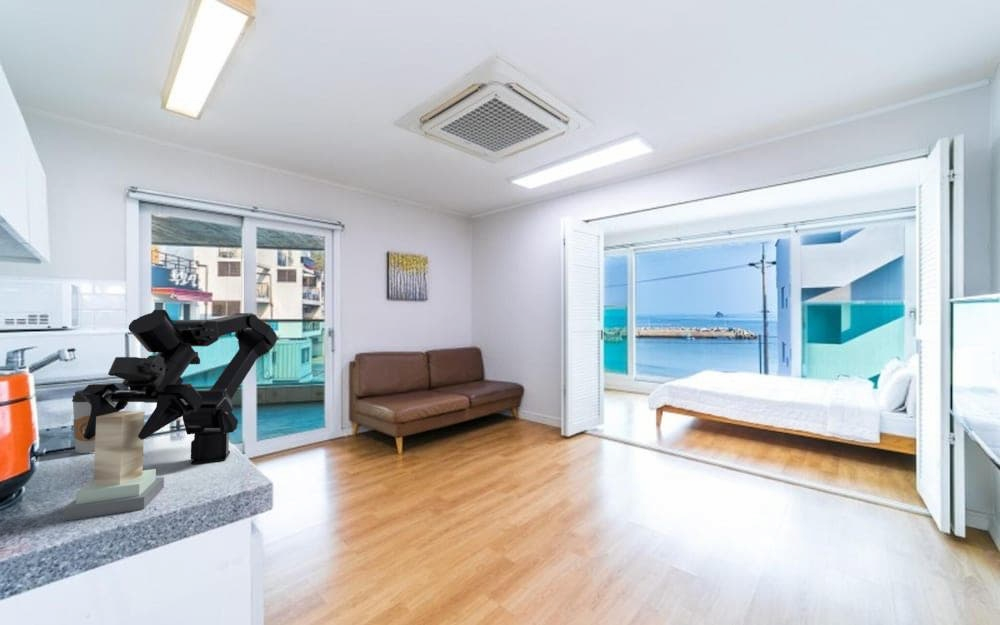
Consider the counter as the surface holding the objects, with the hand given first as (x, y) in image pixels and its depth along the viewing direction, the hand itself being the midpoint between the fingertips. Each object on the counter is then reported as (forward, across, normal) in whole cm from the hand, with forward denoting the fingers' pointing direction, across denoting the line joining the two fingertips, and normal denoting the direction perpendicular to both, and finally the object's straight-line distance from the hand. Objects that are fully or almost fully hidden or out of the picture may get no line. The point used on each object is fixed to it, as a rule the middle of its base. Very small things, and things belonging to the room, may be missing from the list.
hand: (113, 438), depth 69 cm
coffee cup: (-14, -34, +31) cm, 48 cm away
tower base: (+7, 0, +9) cm, 12 cm away
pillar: (+4, 0, +6) cm, 8 cm away
